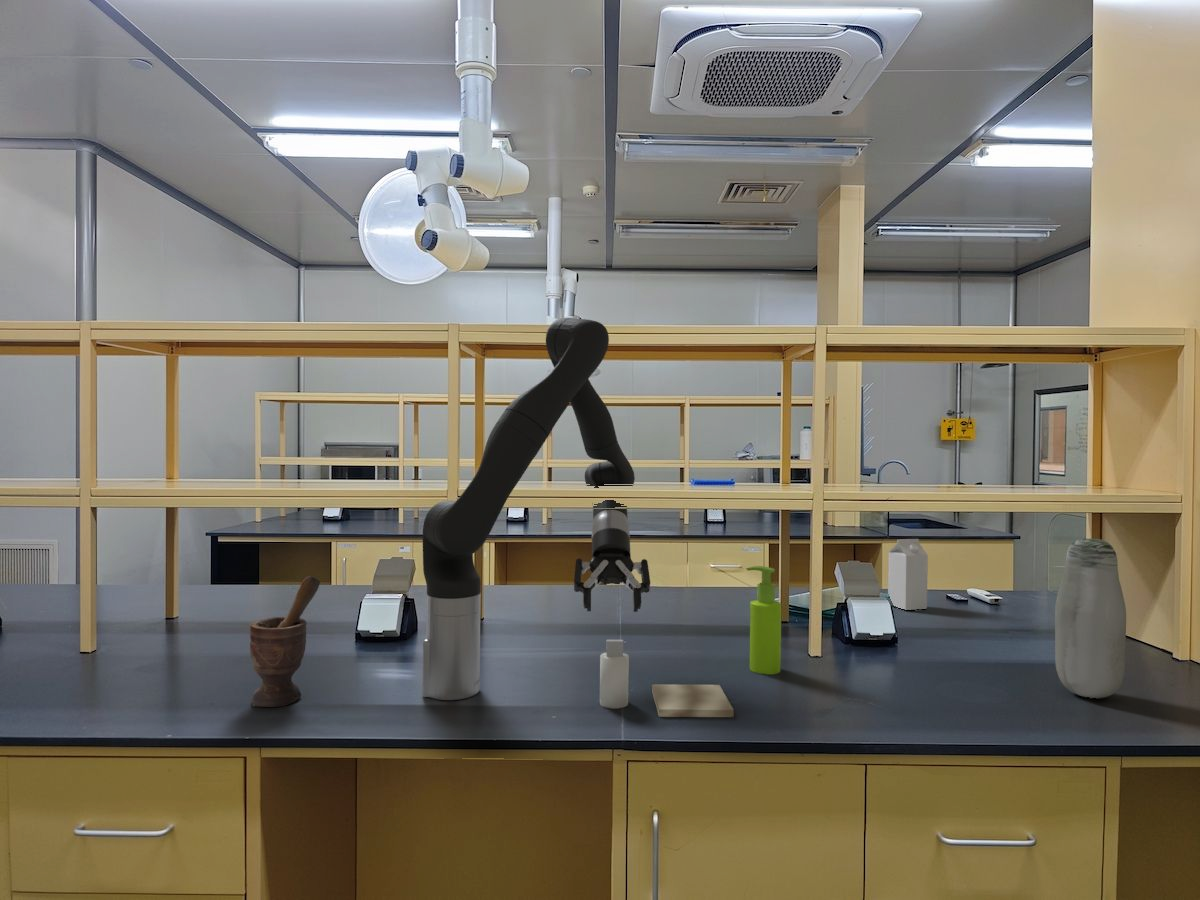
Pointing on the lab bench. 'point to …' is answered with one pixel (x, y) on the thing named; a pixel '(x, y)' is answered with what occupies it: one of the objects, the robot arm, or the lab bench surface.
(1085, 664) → the grey bottle
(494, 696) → the lab bench surface
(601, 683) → the white bottle
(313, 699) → the lab bench surface
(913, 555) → the milk carton
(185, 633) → the lab bench surface
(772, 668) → the soap dispenser
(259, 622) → the mortar and pestle
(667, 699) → the board
